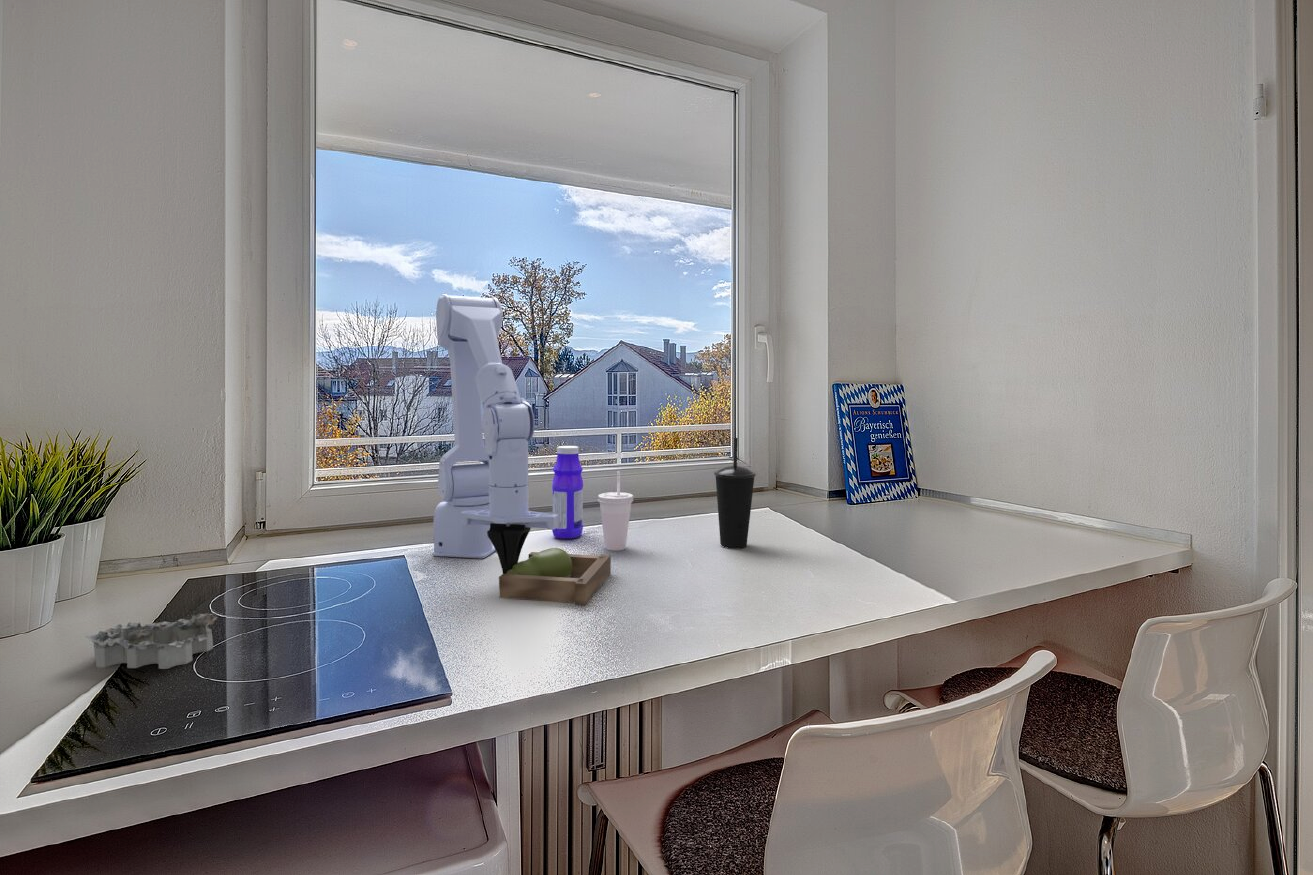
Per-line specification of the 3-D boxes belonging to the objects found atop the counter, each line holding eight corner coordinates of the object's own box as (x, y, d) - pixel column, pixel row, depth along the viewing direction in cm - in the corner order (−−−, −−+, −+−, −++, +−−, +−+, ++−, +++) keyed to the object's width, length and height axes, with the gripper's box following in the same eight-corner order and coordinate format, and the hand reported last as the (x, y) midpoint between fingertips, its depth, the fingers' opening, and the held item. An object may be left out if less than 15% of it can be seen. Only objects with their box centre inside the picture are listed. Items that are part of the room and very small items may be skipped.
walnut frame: (497, 599, 95) (496, 578, 95) (533, 568, 110) (533, 550, 110) (585, 605, 93) (585, 583, 93) (610, 573, 108) (610, 554, 108)
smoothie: (628, 553, 120) (628, 474, 119) (593, 551, 121) (593, 473, 120) (636, 544, 126) (637, 469, 125) (603, 542, 128) (603, 468, 126)
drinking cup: (707, 548, 124) (709, 438, 122) (719, 538, 131) (721, 435, 129) (748, 552, 121) (751, 440, 119) (758, 542, 128) (761, 437, 126)
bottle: (557, 531, 136) (557, 444, 135) (585, 531, 136) (585, 444, 134) (548, 539, 129) (548, 448, 127) (578, 540, 129) (578, 449, 127)
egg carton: (224, 646, 79) (223, 612, 79) (173, 674, 72) (171, 637, 72) (138, 641, 80) (136, 607, 80) (79, 669, 73) (77, 632, 72)
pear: (575, 548, 101) (511, 569, 96) (580, 581, 102) (518, 604, 97) (560, 540, 106) (498, 559, 101) (565, 572, 107) (504, 592, 102)
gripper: (450, 486, 99) (452, 578, 100) (547, 490, 96) (547, 584, 98) (471, 479, 106) (472, 565, 107) (562, 482, 103) (562, 570, 105)
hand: (509, 573), depth 103 cm, fingers closed
